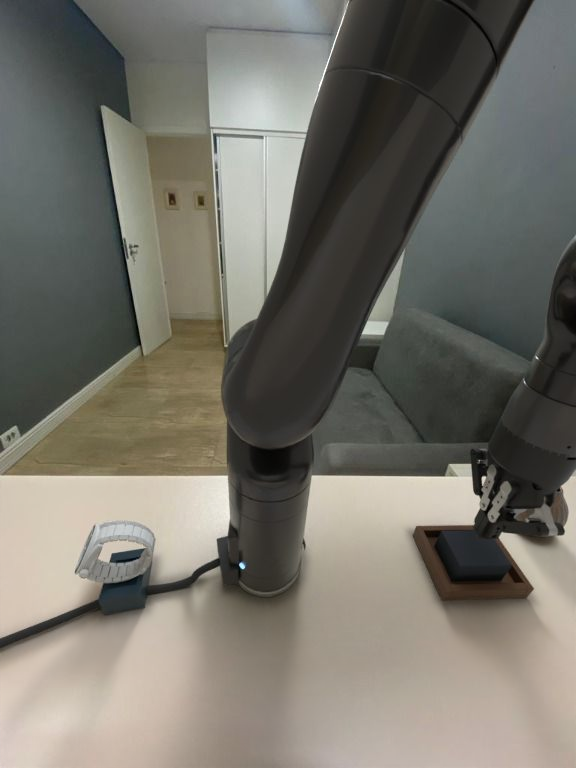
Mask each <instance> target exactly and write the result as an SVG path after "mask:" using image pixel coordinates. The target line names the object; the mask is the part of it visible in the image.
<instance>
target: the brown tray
mask: <svg viewBox="0 0 576 768" xmlns="http://www.w3.org/2000/svg"><path fill="white" fill-rule="evenodd" d="M473 526H474V524H467V525H466V524H464V525H463V524H458V525H456V524H455V525H453V524H452V525H451V524H450V525H448V524H447V525H415V528H414V530H413V533H412V536H413V539H414V541H415V543H416V545H417V548H418V550H419V552H420V554H421V557H422V559H423V561H424V563H425V566H426V568H427V570H428V572H429V575H430V578H431V580H432V581H433V584H434V586H435V588H436V590H437V593H438V595H439V597H440V600H441V601H454V600H455V601H459V600H462V601H463V600H489V599H492V600H493V599H518V598H519V599H522V598H523V599H525V598H528V597H529V596H530V595H531V593H533V591H534V590H535V588H534V586H533V585H532V584H531V582H530V581H529V579H528V578H527V576H526V575H525V574H524V572H523V571H522V569H521V568H520V566H519V565H518V563H517V561H515V559H514V557H513V556H512V555H511V553H510V552H509V550H508V549H507V548H506V546H505V545H504V544H503V542H502V540H501V539H500V537H499V538H497V539H495V541H496V542H497V544H498V545H499V547H500V548H501V550H502V551H503V553H504V554H505V555H506V557H507V558H508V560H509V561H510V563H511V564H512V566H511V568H510V569H509V571H508V572H507V573H506V575H505V576H504V578H503V579H502V580H493V581H451V579H450V577H449V575H448V573H447V571H446V569H445V567H444V565H443V563H442V561H441V559H440V557H439V554H438V552H437V550H436V548H435V546H434V545H435V543H436V541H437V539H438V537H439V535H440V533H441V531H471V530H474V528H473Z"/></svg>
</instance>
